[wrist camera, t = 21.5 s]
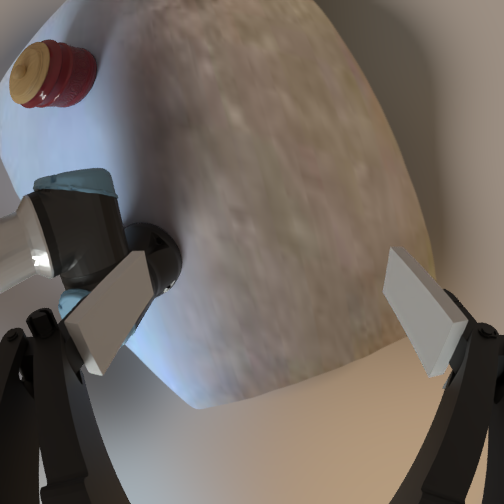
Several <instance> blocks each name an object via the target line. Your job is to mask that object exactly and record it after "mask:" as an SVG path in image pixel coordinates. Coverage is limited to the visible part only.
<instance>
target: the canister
mask: <svg viewBox="0 0 504 504" xmlns="http://www.w3.org/2000/svg"><path fill="white" fill-rule="evenodd" d="M96 71H97V65H96V60H95V58H94V56H93V55H92V54H91V53H90V52H89V51H87V50H86V49H83V48H78V47H73V46H70V45H67V44H65V43H61V42H59V43H57V42H56V41H54V40H44V41H42V42H36V43H33V44H31V45H30V46H28V47H27V48H26V49H25V50H24V51H23V52H22V53H21V55H20V56H19V58H18V59H17V61H16V62H15V64H14V66H13V68H12V71H11V75H10V82H9V88H10V95H11V97H12V99H13V101H14V102H16V103H18V104H21V105H22V106H23V107H25V108H33V107H40V108H43V107H55V106H56V107H69V106H72V105H75V104H77V103H78V102H80V101H81V100H82V99H83V98H84V97H85V96H86V95H87V94H88V92H89V91H90V89H91V87H92V85H93V83H94V80H95V77H96Z"/></svg>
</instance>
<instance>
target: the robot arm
mask: <svg viewBox="0 0 504 504" xmlns="http://www.w3.org/2000/svg"><path fill="white" fill-rule="evenodd" d="M33 189H34V192H32V193H30V194H27V195H25V196H23V198H22V200H21V202H20V205H19V207H18V209H17V210H16V211H15V212H13V213H12V214H9V215H7V216H5V217H3V218H0V294H1V293H2V292H4V291H6V290H8V289H9V288H11V287H13V286H15V285H17V284H18V283H20V282H22V281H23V280H26V279H27V278H29V277H31V276H33V275H35V274H40V275H42V276H45V277H47V278H49V279H51V278H54V277H55V276H57V275H59V274H60V277H61V279H62V282H63V284H64V287H65V290H66V291H64V292H63V293H62V295H61V298H60V300H59V305H58V308H59V312H60V315H61V318H62V320H61V321H60V323H59V324H57V322H56V320H55V318H54V315H53V313H52V310H51V309H49V308H42V309H38V310H36V311H34V312H33V313H31V314H30V315H29V316H28V318H27V320H26V322H27V324H28V327H29V329H30V331H31V333H32V335H33V337H26V335H25V333H24V331H23V329H21V328H15V329H11V330H9V331H8V332H7V333H6V334H5V335H4V337H3V338H2V340H1V342H0V504H40V501H39V448H40V450H41V455H42V461H43V465H44V469H45V474H46V478H47V486H45V487H42V488H41V490H40V496H41V501H42V504H131V503H130V502H129V500H128V498H127V496H126V494H125V492H124V490H123V488H122V486H121V483H120V481H119V479H118V477H117V475H116V472H115V470H114V468H113V466H112V463H111V461H110V458H109V456H108V453H107V451H106V448H105V446H104V443H103V440H102V437H101V434H100V432H99V428H98V425H97V423H96V420H95V416H94V413H93V409H92V406H91V403H90V399H89V395H88V392H87V388H86V384H85V380H84V375H83V373H82V371H81V369H80V368H81V367H82V365H83V364H85V366H86V367H87V370H88V371H89V373H93V374H96V375H101V376H103V375H104V373H105V372H106V370H107V368H108V367H109V365H110V363H111V362H112V360H113V358H114V356H115V355H116V353H117V352H118V350H119V348H120V347H122V346H123V345H124V344H125V343H126V342H127V341H128V339H129V338H130V336H131V335H133V334H134V333H135V331H136V328H137V327H138V325H139V323H140V322H141V320H142V318H143V316H144V315H145V313H146V311H147V310H148V308H149V306H150V305H151V303H152V301H153V300H154V298H156V297H158V296H160V295H162V294H163V293H165V292H167V291H168V290H169V289H171V288H172V286H173V285H174V284H175V282H176V281H177V279H178V277H179V275H180V272H181V266H182V261H181V255H180V252H179V249H178V247H177V245H176V243H175V242H174V240H173V239H172V238H171V237H170V236H169V235H168V234H167V233H166V232H165V231H164V230H162V229H161V228H159V227H157V226H155V225H152V224H148V223H135V224H132V225H129V226H128V227H126V228H125V229H124V227H123V223H122V219H121V214H120V210H119V205H118V201H117V198H118V195H117V194H116V193H115V189H114V185H113V181H112V177H111V174H110V173H109V172H108V171H107V170H105V169H103V168H91V169H82V170H75V171H70V172H64V173H60V174H57V175H52V176H46V177H43V178H39V179H37V180H35V182H34V187H33ZM383 294H384V295H385V297H386V299H387V300H388V302H389V304H390V305H391V307H392V309H393V311H394V312H395V314H396V316H397V318H398V319H399V321H400V323H401V325H402V327H403V328H404V330H405V332H406V334H407V336H408V338H409V340H410V341H411V343H412V345H413V347H414V349H415V351H416V353H417V355H418V357H419V359H420V361H421V363H422V365H423V367H424V369H425V371H426V373H427V375H428V377H433V376H438V375H442V374H444V372H445V370H446V368H447V366H448V364H450V366H451V368H452V369H453V370H452V372H451V374H450V376H449V377H448V379H447V381H446V383H445V384H444V386H443V389H445V391H444V394H443V396H442V399H441V402H440V405H439V407H438V410H437V412H436V415H435V418H434V420H433V422H432V425H431V427H430V429H429V432H428V434H427V436H426V438H425V440H424V443H423V445H422V447H421V449H420V451H419V453H418V455H417V457H416V459H415V461H414V463H413V464H412V466H411V468H410V470H409V472H408V474H407V475H406V477H405V479H404V481H403V482H402V484H401V486H400V487H399V489H398V491H397V492H396V494H395V495H394V497H393V498H392V500H391V501H390V503H389V504H465V498H466V495H467V493H468V490H469V488H470V485H471V483H472V480H473V477H474V474H475V472H476V468H477V465H478V463H479V459H480V456H481V452H482V449H483V446H484V442H485V438H486V434H487V430H488V426H489V434H488V458H487V471H486V479H485V487H484V494H483V500H482V504H504V335H499V334H498V332H497V330H496V329H495V328H494V327H492V326H491V325H488V324H486V323H477V322H476V320H475V319H474V318H473V317H472V315H471V314H470V313H469V312H468V311H467V310H466V308H465V307H463V305H462V304H461V302H459V300H458V299H457V298H456V297H455V296H454V295H453V294H452V293H451V292H449V291H447V290H446V289H442V288H441V287H440V286H439V285H438V283H437V282H436V281H435V280H434V279H433V278H432V277H431V276H430V275H429V274H428V272H427V271H426V270H425V269H424V268H423V267H422V266H421V265H420V264H419V263H418V262H417V261H416V260H415V259H414V258H413V257H412V256H411V255H410V254H409V253H408V252H407V251H406V250H405V248H404V247H390V253H389V259H388V265H387V271H386V277H385V282H384V287H383ZM19 372H20V373H21V375H22V376H23V377H22V380H20V378H19ZM445 387H446V388H445Z"/></svg>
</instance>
